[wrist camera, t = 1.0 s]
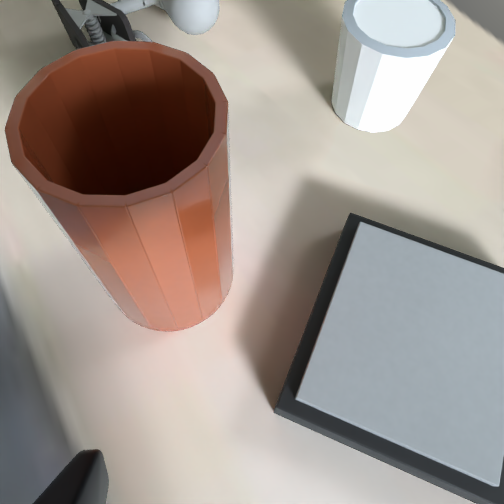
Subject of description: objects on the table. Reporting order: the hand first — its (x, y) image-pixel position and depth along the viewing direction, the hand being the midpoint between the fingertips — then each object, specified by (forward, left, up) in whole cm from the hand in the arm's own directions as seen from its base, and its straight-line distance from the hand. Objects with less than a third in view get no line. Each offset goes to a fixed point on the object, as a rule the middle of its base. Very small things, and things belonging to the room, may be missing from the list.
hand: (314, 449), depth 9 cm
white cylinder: (+25, +2, -14) cm, 29 cm away
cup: (+7, +9, -14) cm, 18 cm away
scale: (+8, -5, -14) cm, 17 cm away
